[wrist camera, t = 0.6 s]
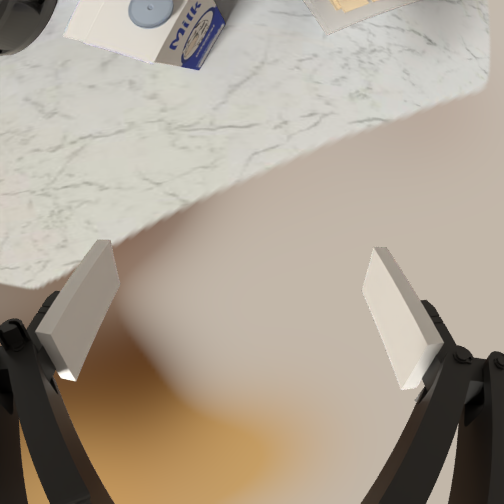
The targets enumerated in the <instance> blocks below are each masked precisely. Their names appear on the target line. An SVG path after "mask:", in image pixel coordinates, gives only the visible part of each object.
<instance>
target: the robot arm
mask: <svg viewBox="0 0 504 504" xmlns="http://www.w3.org/2000/svg"><path fill="white" fill-rule="evenodd" d="M56 1H57V0H0V56H2V55H12V54H15V53H18V52H20V51H22V50H23V49H25V48H26V47H27V46H29V45H30V44H31V43H32V42H33V41H34V40H35V39H36V38H37V37H38V35H39V34H40V33H41V32H42V30H43V29H44V27H45V26H46V24H47V22H48V21H49V19H50V17H51V15H52V12H53V10H54V7H55V4H56ZM119 286H120V281H119V277H118V273H117V268H116V264H115V259H114V255H113V250H112V245H111V240H97V241H96V242H95V244H94V245H93V246H92V248H91V249H90V250H89V252H88V253H87V254H86V256H85V257H84V258H83V260H82V261H81V263H80V264H79V265H78V267H77V268H76V270H75V271H74V272H73V274H72V275H71V277H70V278H69V280H68V281H67V283H66V284H65V286H64V287H63V289H62V290H61V291H55V292H54V293H52V294H51V295H50V296H49V297H47V299H46V300H45V302H44V303H43V305H42V307H41V308H40V309H39V311H38V313H37V314H36V316H35V317H34V318H33V320H32V322H31V323H30V325H29V327H28V328H27V330H26V329H25V327H24V325H23V323H22V321H21V320H19V319H10V320H7V321H5V322H4V323H2V325H0V343H1V345H2V346H0V504H28V501H27V495H26V489H25V483H24V477H23V468H22V459H21V448H20V435H19V420H20V423H21V427H22V430H23V434H24V437H25V440H26V443H27V446H28V449H29V452H30V455H31V458H32V461H33V464H34V466H35V469H36V471H37V474H38V477H39V479H40V482H41V484H42V486H43V488H44V491H45V493H46V495H47V498H48V500H49V502H50V504H114V502H113V500H112V499H111V498H110V496H109V494H108V492H107V490H106V489H105V487H104V485H103V484H102V482H101V480H100V478H99V476H98V475H97V473H96V471H95V469H94V467H93V465H92V464H91V462H90V460H89V458H88V456H87V454H86V452H85V450H84V448H83V446H82V444H81V441H80V439H79V437H78V435H77V433H76V431H75V428H74V426H73V424H72V421H71V419H70V417H69V414H68V412H67V410H66V407H65V405H64V402H63V399H62V397H61V394H60V392H59V389H58V386H57V383H56V381H55V379H54V377H53V375H54V372H55V370H57V372H58V374H59V375H60V377H61V378H63V379H68V380H72V381H76V380H77V377H78V375H79V372H80V370H81V368H82V365H83V363H84V361H85V358H86V356H87V354H88V351H89V349H90V347H91V345H92V342H93V340H94V338H95V336H96V333H97V331H98V329H99V327H100V325H101V323H102V321H103V318H104V316H105V314H106V312H107V310H108V308H109V306H110V304H111V302H112V300H113V298H114V296H115V294H116V292H117V290H118V288H119ZM362 293H363V295H364V297H365V300H366V302H367V304H368V307H369V309H370V312H371V314H372V316H373V319H374V321H375V323H376V326H377V329H378V331H379V334H380V336H381V338H382V341H383V344H384V346H385V349H386V351H387V354H388V357H389V359H390V362H391V364H392V367H393V370H394V373H395V375H396V378H397V381H398V383H399V386H400V389H401V390H405V389H411V388H416V387H417V386H418V384H419V383H420V381H421V380H423V382H424V385H425V387H424V388H423V390H422V391H421V392H420V394H419V395H418V397H417V398H416V399H415V401H416V402H417V403H416V405H415V407H414V409H413V412H412V414H411V416H410V418H409V420H408V422H407V424H406V426H405V428H404V430H403V432H402V434H401V436H400V438H399V440H398V442H397V444H396V446H395V448H394V449H393V452H392V453H391V455H390V457H389V458H388V460H387V462H386V464H385V466H384V467H383V469H382V471H381V472H380V474H379V476H378V478H377V479H376V481H375V482H374V484H373V486H372V487H371V489H370V490H369V492H368V493H367V495H366V496H365V498H364V499H363V501H362V502H361V504H426V502H427V500H428V498H429V496H430V494H431V492H432V490H433V487H434V485H435V483H436V481H437V478H438V476H439V473H440V471H441V469H442V467H443V464H444V461H445V459H446V457H447V454H448V451H449V449H450V446H451V443H452V440H453V438H454V435H455V432H456V429H457V425H458V423H459V425H458V438H457V449H456V458H455V465H454V474H453V479H452V485H451V491H450V496H449V501H448V504H504V354H503V353H501V352H496V351H494V352H492V353H491V354H490V355H489V356H488V358H487V359H479V358H473V356H472V354H471V353H470V351H469V350H467V349H466V348H464V347H462V346H458V345H456V344H455V342H454V340H453V338H452V336H451V334H450V333H449V331H448V329H447V327H446V326H445V324H444V323H443V321H442V319H441V317H439V314H438V312H437V311H436V309H435V307H433V305H431V304H430V303H429V302H428V301H427V300H420V299H419V298H418V296H417V294H416V293H415V291H414V290H413V288H412V286H411V285H410V283H409V281H408V280H407V278H406V276H405V275H404V274H403V272H402V270H401V269H400V267H399V266H398V264H397V262H396V261H395V259H394V258H393V256H392V255H391V253H390V252H389V250H388V249H387V248H386V247H373V251H372V255H371V258H370V262H369V266H368V270H367V273H366V277H365V281H364V284H363V288H362Z"/></svg>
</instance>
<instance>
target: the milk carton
mask: <svg viewBox="0 0 504 504" xmlns="http://www.w3.org/2000/svg"><path fill="white" fill-rule="evenodd" d="M224 26H225V21H224V19H223V17H222V16H221V14H220V12H219V10H218V8H217V6H216V4H215V2H214V0H79V2H78V4H77V6H76V8H75V10H74V12H73V14H72V16H71V18H70V20H69V22H68V24H67V27H66V29H65V31H64V33H63V37H66V38H70V39H74V40H78V41H82V42H84V44H88V45H91V46H95V47H99V48H102V49H105V50H109V51H112V52H115V53H119V54H122V55H125V56H128V57H131V58H134V59H137V60H140V61H143V62H146V63H149V64H153V63H154V62H155V63H161V64H168V65H174V66H179V67H185V68H190V69H195V70H199V69H200V68H201V66H202V64H203V62H204V60H205V58H206V57H207V55H208V53H209V51H210V50H211V48H212V46H213V44H214V43H215V41H216V39H217V37H218V36H219V34H220V32H221V31H222V29H223V27H224Z"/></svg>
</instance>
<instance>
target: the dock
mask: <svg viewBox="0 0 504 504" xmlns="http://www.w3.org/2000/svg"><path fill="white" fill-rule="evenodd" d="M303 1H304V2H305V4H306V5H307V7H308V8H309V9H310V11H311V12H312V14H313V15H314V17H315V18H316V20H317V21H318V23H319V24H320V26H321V27H322V29H323V30H324V32H325V33H326V35H330V34H332V33H334V32H336V31H339V30H341V29H343V28H346V27H348V26H350V25H353V24H355V23H358V22H360V21H363V20H365V19H368V18H370V17H373V16H376V15H378V14H381V13H384V12H387V11H389V10H392V9H395V8H398V7H401V6H404V5H407V4H410V3H414V2H417V1H420V0H303Z"/></svg>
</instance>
